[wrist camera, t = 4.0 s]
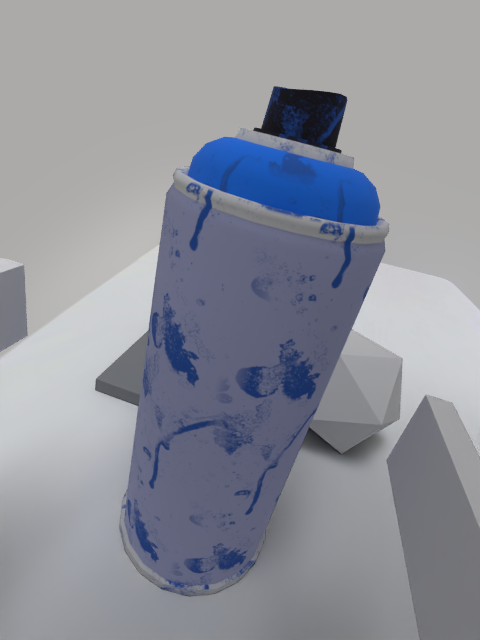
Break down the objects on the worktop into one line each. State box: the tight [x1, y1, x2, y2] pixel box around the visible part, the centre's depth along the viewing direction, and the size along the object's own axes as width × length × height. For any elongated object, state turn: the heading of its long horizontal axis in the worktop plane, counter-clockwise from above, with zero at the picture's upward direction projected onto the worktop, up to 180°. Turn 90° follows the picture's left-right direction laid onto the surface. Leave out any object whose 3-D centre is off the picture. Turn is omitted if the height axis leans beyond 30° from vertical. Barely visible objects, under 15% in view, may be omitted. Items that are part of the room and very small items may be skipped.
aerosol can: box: [120, 87, 389, 596], centre depth 15 cm, size 8×8×20 cm
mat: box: [95, 330, 149, 406], centre depth 30 cm, size 12×12×1 cm
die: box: [310, 329, 403, 454], centre depth 27 cm, size 8×9×10 cm
